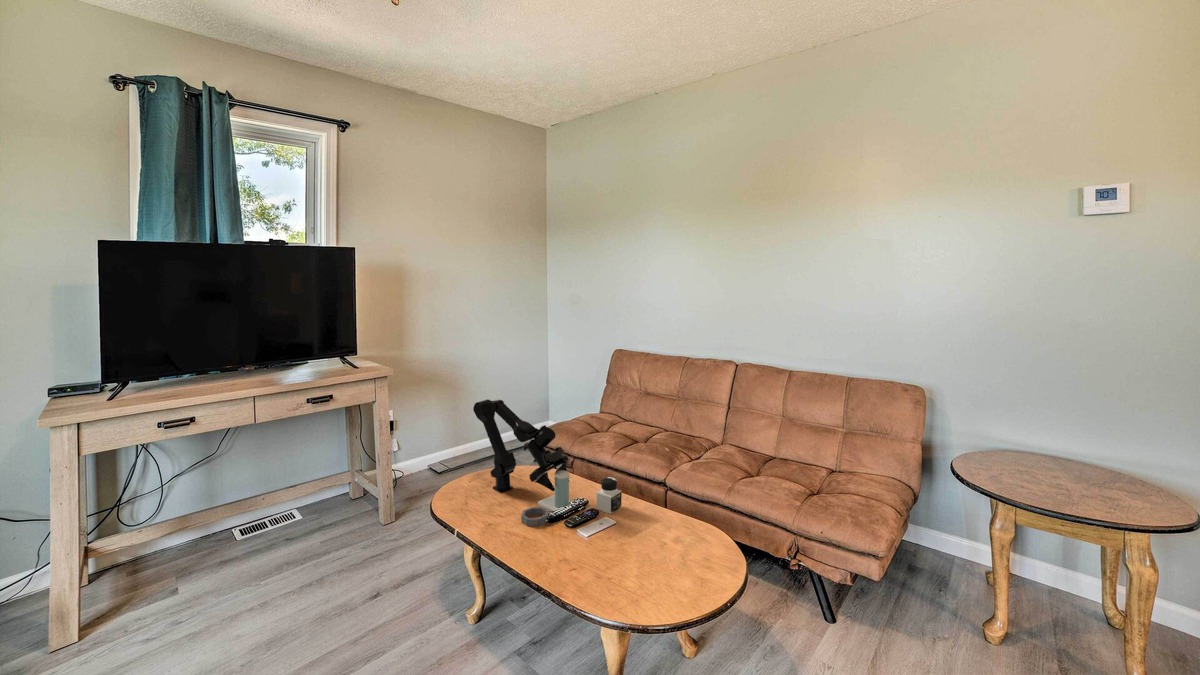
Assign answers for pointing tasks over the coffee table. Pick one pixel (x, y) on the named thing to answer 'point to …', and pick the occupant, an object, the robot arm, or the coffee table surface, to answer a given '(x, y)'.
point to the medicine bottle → (609, 496)
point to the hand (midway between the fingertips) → (561, 486)
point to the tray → (550, 503)
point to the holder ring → (534, 521)
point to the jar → (561, 488)
